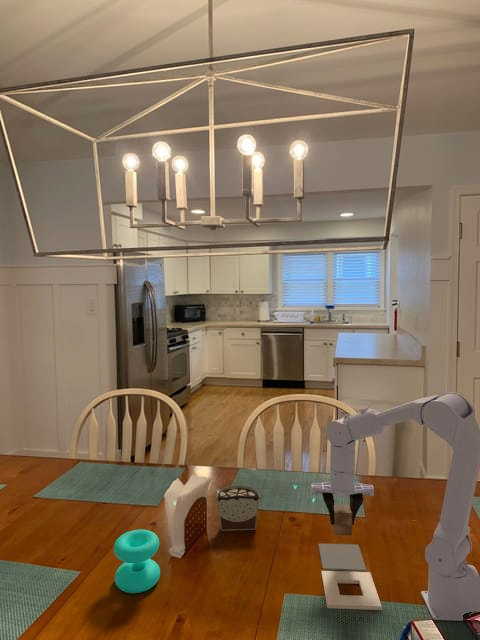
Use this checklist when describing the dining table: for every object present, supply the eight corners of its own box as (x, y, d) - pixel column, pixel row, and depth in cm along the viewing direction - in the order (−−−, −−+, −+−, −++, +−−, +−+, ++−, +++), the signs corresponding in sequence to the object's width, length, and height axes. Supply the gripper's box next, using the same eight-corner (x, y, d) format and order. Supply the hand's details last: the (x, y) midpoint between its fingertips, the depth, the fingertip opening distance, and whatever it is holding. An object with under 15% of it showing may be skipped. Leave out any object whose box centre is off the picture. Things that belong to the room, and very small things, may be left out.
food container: (259, 517, 132) (259, 483, 131) (261, 529, 126) (261, 494, 125) (216, 518, 132) (215, 484, 131) (215, 530, 125) (215, 495, 124)
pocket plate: (370, 575, 106) (370, 572, 106) (381, 610, 95) (381, 606, 95) (321, 573, 107) (321, 570, 107) (327, 608, 96) (327, 604, 96)
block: (348, 526, 114) (349, 504, 113) (351, 535, 110) (352, 513, 109) (332, 525, 114) (332, 504, 114) (334, 534, 110) (334, 512, 110)
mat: (358, 546, 118) (358, 544, 118) (366, 571, 108) (366, 569, 108) (318, 544, 118) (318, 543, 118) (322, 569, 108) (322, 568, 108)
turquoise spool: (132, 558, 97) (104, 541, 103) (134, 603, 98) (105, 583, 104) (168, 537, 105) (140, 522, 111) (169, 578, 106) (141, 561, 112)
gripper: (369, 461, 114) (368, 514, 116) (310, 461, 115) (309, 513, 117) (376, 474, 107) (375, 530, 109) (313, 473, 108) (312, 528, 110)
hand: (341, 522), depth 112 cm, fingers closed on block, 4 cm apart
